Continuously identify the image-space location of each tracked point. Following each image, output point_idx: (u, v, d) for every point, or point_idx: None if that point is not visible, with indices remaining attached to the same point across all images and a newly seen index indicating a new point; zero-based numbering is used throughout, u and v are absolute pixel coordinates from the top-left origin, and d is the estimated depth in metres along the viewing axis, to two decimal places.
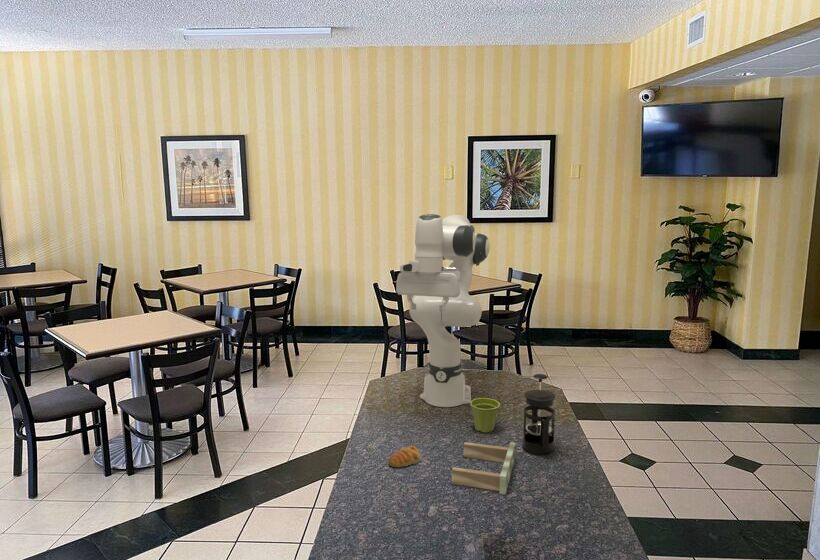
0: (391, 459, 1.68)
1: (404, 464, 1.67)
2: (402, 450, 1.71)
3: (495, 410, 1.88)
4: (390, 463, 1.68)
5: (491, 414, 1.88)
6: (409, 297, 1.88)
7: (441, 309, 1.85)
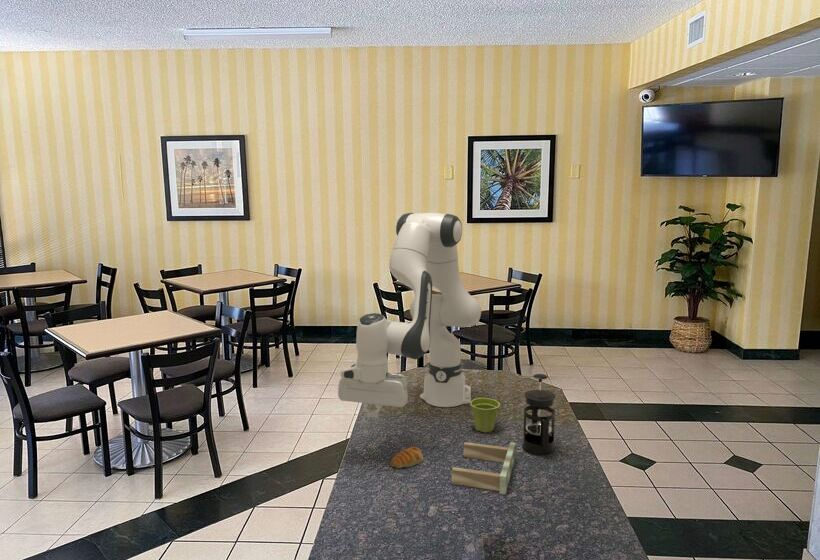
0: (393, 460, 1.68)
1: (406, 464, 1.67)
2: (404, 451, 1.70)
3: (495, 410, 1.88)
4: (392, 464, 1.67)
5: (491, 414, 1.88)
6: (365, 405, 1.70)
7: (374, 416, 1.70)
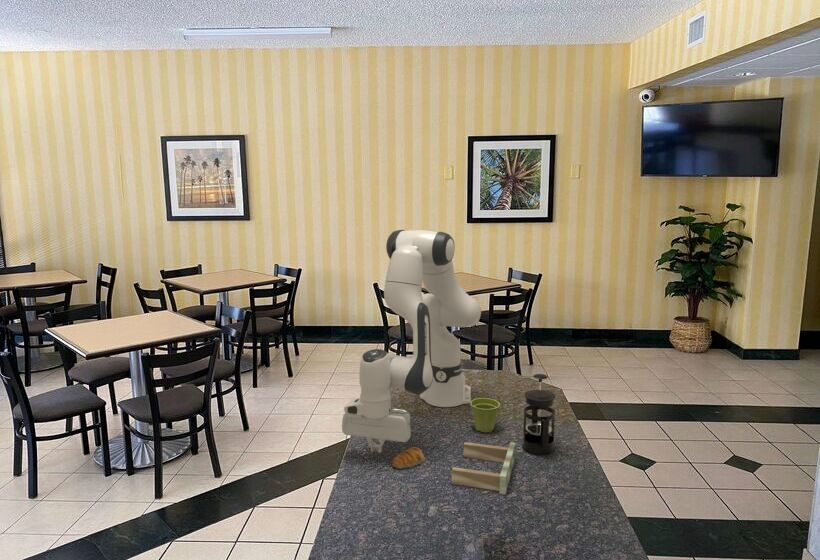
0: (395, 460, 1.67)
1: (407, 465, 1.66)
2: (405, 451, 1.70)
3: (495, 410, 1.88)
4: (394, 464, 1.67)
5: (491, 414, 1.88)
6: (369, 439, 1.72)
7: (377, 450, 1.72)
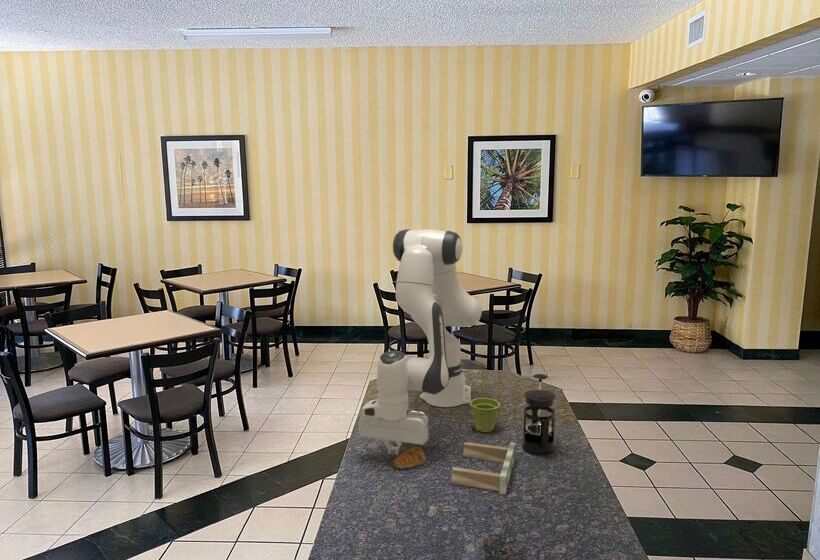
0: (396, 461, 1.67)
1: (409, 465, 1.66)
2: (406, 451, 1.70)
3: (495, 410, 1.88)
4: (395, 465, 1.67)
5: (491, 414, 1.88)
6: (386, 441, 1.70)
7: (394, 453, 1.70)
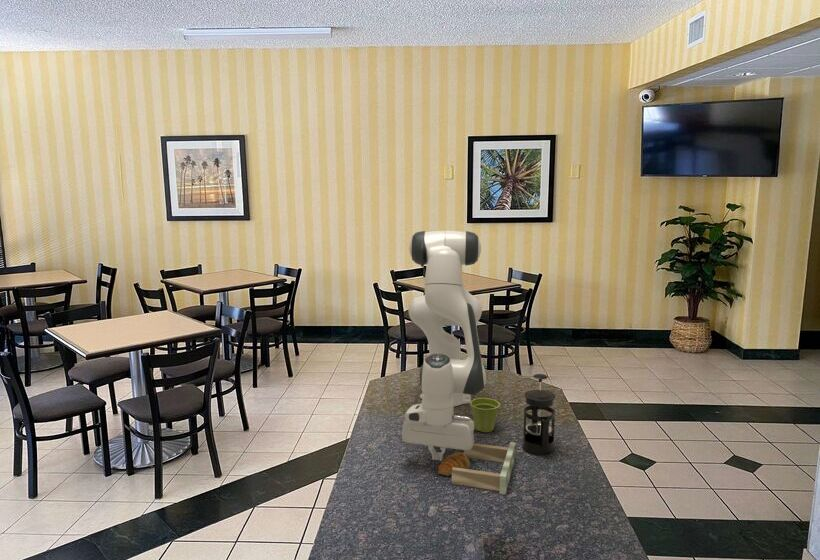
0: (441, 467, 1.63)
1: None
2: (450, 457, 1.66)
3: (495, 410, 1.88)
4: (440, 471, 1.62)
5: (491, 414, 1.88)
6: (430, 447, 1.67)
7: (438, 459, 1.67)
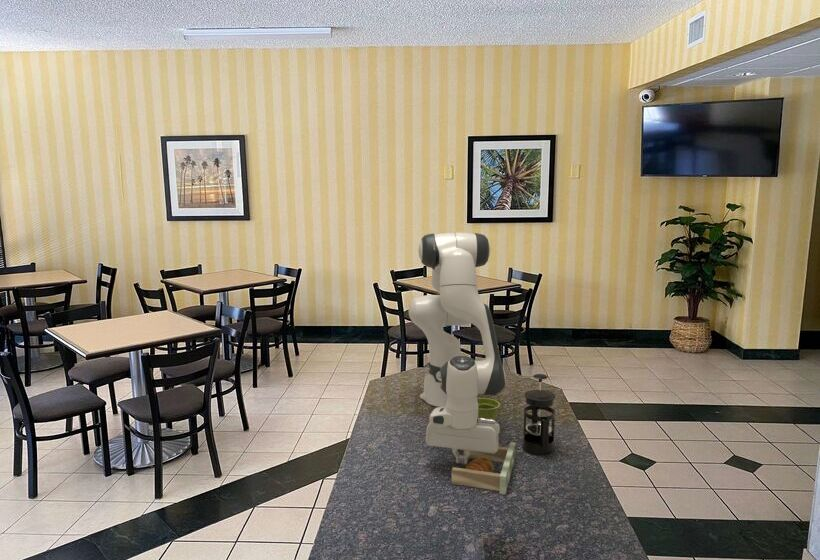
0: None
1: None
2: (475, 462, 1.64)
3: (495, 410, 1.88)
4: None
5: (491, 414, 1.88)
6: (454, 450, 1.65)
7: (463, 462, 1.65)
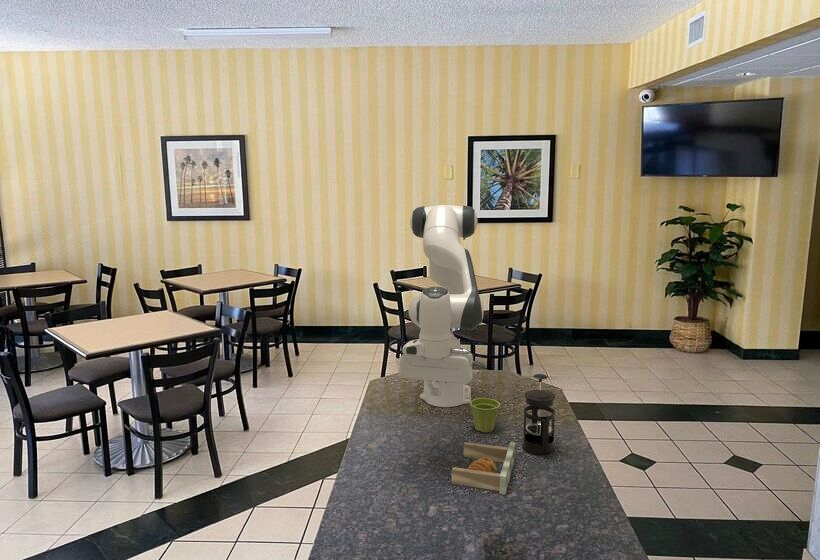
0: None
1: None
2: (477, 462, 1.63)
3: (495, 410, 1.88)
4: None
5: (491, 414, 1.88)
6: (428, 382, 1.63)
7: (437, 394, 1.64)
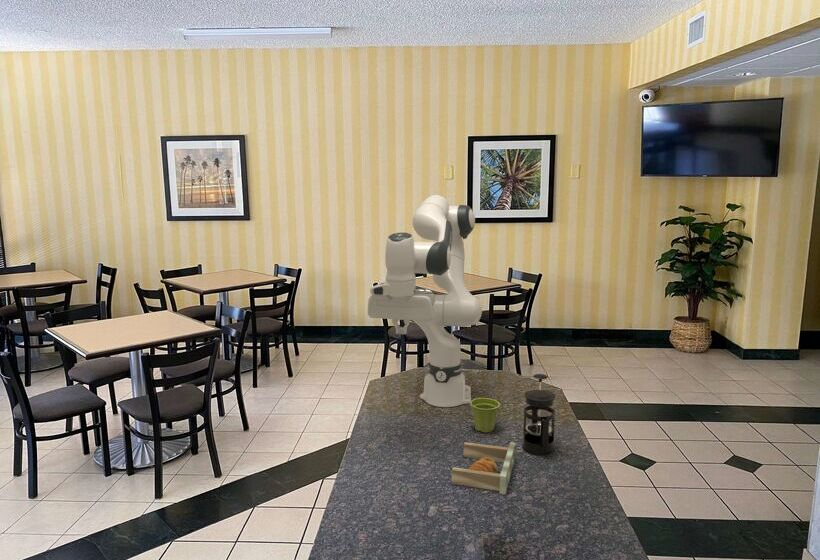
0: None
1: None
2: (478, 462, 1.63)
3: (495, 410, 1.88)
4: None
5: (491, 414, 1.88)
6: (394, 321, 1.77)
7: (402, 332, 1.77)
